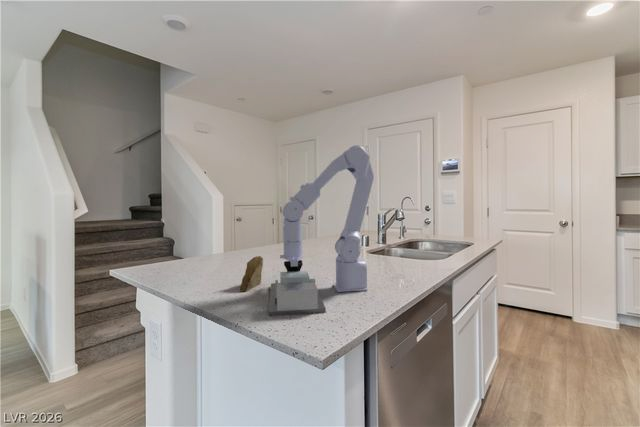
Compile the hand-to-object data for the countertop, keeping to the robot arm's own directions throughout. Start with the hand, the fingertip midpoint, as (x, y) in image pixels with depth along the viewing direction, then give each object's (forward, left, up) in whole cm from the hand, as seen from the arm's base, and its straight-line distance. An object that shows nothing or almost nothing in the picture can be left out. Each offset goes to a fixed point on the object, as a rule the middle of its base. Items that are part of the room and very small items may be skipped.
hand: (293, 284), depth 94 cm
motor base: (0, +7, -2) cm, 7 cm away
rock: (+14, -7, -2) cm, 16 cm away
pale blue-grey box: (-1, +6, -1) cm, 7 cm away
